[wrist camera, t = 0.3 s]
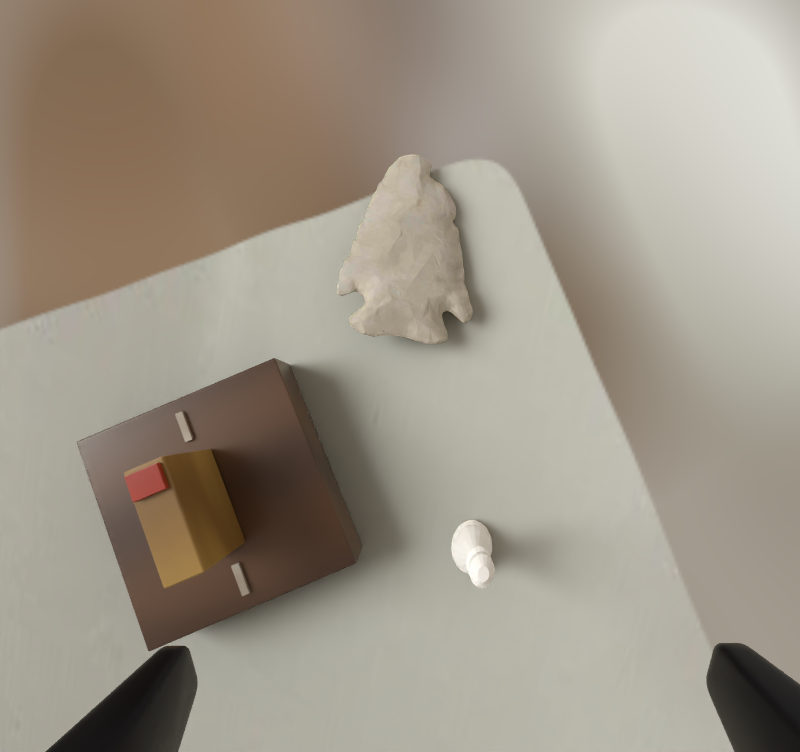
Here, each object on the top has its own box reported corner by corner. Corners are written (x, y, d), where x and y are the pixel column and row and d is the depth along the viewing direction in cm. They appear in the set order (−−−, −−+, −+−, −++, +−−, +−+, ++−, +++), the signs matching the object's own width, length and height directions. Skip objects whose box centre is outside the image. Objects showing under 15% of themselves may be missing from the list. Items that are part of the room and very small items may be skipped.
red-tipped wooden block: (246, 541, 20) (201, 574, 16) (213, 555, 20) (159, 592, 16) (211, 448, 20) (158, 456, 16) (179, 461, 20) (117, 473, 16)
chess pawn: (452, 517, 22) (460, 539, 18) (492, 520, 22) (509, 542, 18) (449, 571, 22) (457, 605, 18) (490, 574, 22) (507, 608, 18)
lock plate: (362, 547, 22) (355, 564, 20) (177, 626, 22) (145, 654, 20) (289, 363, 23) (273, 357, 21) (112, 439, 23) (73, 442, 21)
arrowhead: (458, 354, 24) (477, 176, 25) (470, 349, 22) (491, 158, 23) (329, 334, 22) (355, 147, 24) (331, 327, 21) (359, 125, 22)
